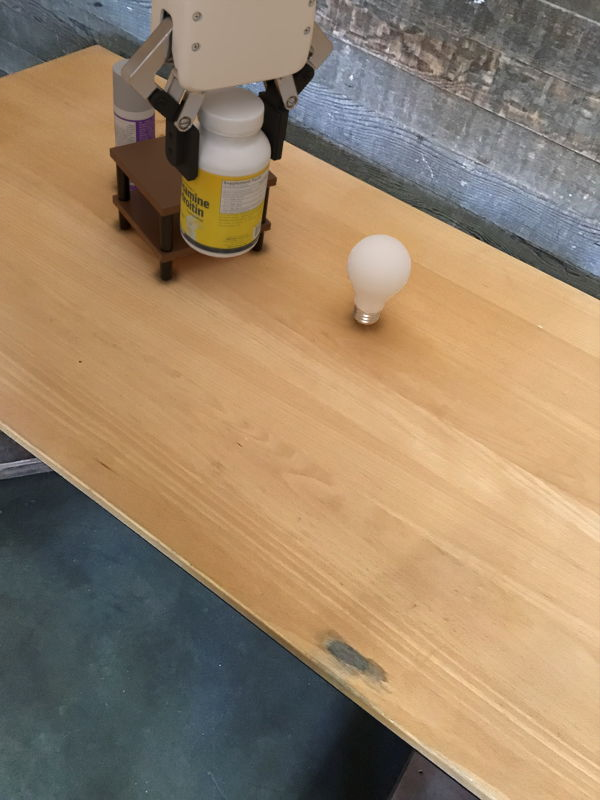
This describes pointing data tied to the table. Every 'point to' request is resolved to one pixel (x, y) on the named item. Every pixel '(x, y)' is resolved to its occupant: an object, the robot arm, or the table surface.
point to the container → (130, 113)
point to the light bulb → (376, 274)
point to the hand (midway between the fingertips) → (225, 158)
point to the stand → (158, 200)
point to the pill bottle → (227, 175)
